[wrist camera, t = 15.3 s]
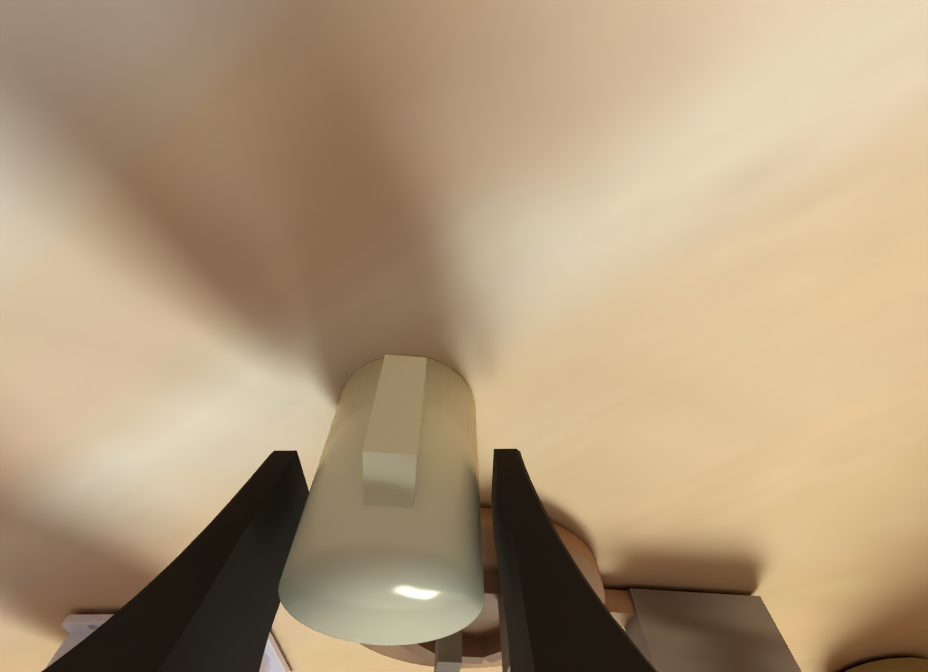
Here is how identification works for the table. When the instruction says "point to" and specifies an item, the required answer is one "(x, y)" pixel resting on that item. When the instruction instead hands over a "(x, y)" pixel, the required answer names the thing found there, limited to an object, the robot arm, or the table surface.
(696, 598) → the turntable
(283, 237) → the table surface
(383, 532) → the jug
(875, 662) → the squeeze bottle
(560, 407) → the table surface
